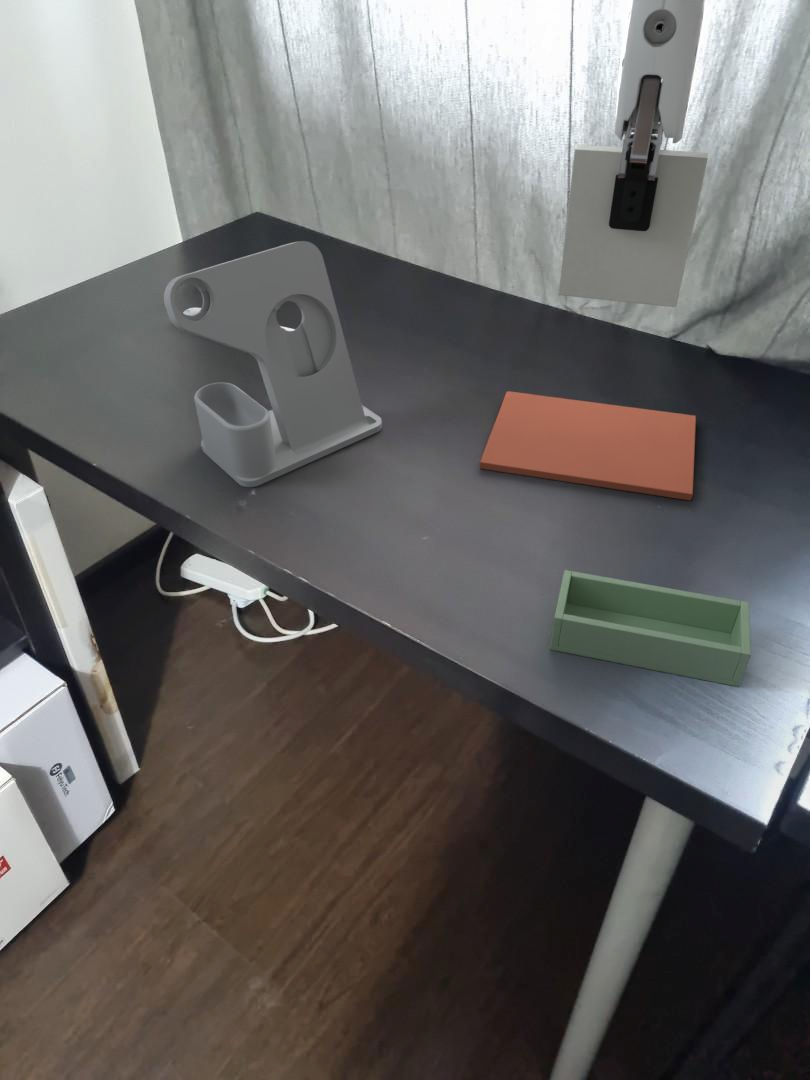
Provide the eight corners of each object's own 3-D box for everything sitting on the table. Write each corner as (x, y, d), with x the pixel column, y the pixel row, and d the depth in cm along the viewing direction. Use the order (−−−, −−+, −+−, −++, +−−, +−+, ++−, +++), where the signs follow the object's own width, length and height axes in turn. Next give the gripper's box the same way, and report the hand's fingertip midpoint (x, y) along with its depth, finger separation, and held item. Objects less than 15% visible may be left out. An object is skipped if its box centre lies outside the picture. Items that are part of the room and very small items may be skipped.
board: (676, 300, 71) (708, 152, 63) (676, 307, 70) (707, 157, 62) (560, 288, 73) (576, 144, 66) (558, 295, 72) (574, 149, 64)
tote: (737, 634, 64) (749, 602, 61) (738, 687, 60) (751, 654, 57) (559, 601, 67) (564, 569, 64) (549, 649, 63) (554, 617, 61)
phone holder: (243, 492, 78) (211, 315, 67) (192, 446, 85) (155, 276, 73) (387, 427, 87) (381, 259, 75) (332, 390, 93) (318, 229, 81)
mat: (694, 422, 87) (696, 415, 86) (691, 501, 76) (692, 494, 76) (506, 397, 91) (506, 390, 90) (479, 468, 81) (479, 462, 80)
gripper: (734, -37, 49) (673, 265, 61) (731, -63, 60) (680, 196, 72) (606, -39, 51) (571, 255, 63) (626, -64, 62) (593, 189, 74)
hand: (629, 222), depth 67 cm, fingers closed on board, 1 cm apart
